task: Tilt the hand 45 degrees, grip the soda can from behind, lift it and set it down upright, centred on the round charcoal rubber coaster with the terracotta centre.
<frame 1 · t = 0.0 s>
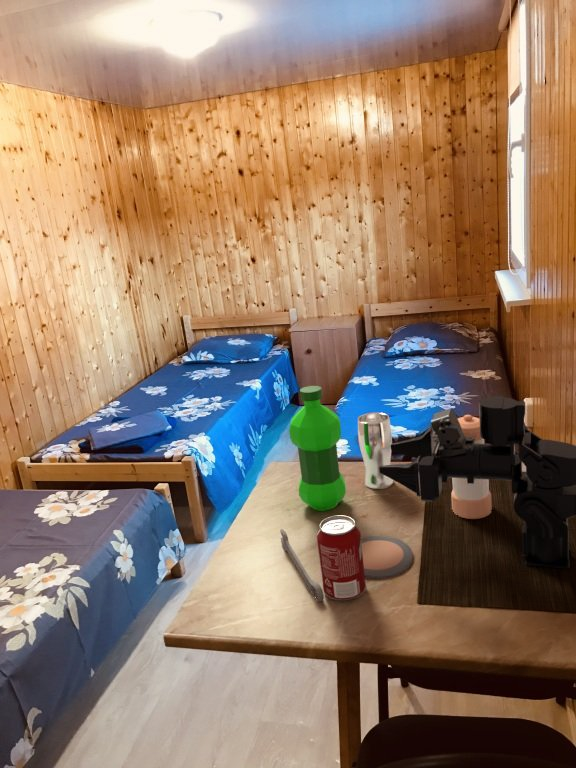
hand: (385, 457, 105), 17 cm above the table, tool horizontal, fingers open, 9 cm apart
pepper shaker: (471, 510, 118), on the table
plastic bottle: (324, 505, 127), on the table
beer glass: (379, 483, 133), on the table
soda can: (344, 591, 99), on the table
coaster: (377, 557, 106), on the table
combination wrench: (301, 572, 106), on the table
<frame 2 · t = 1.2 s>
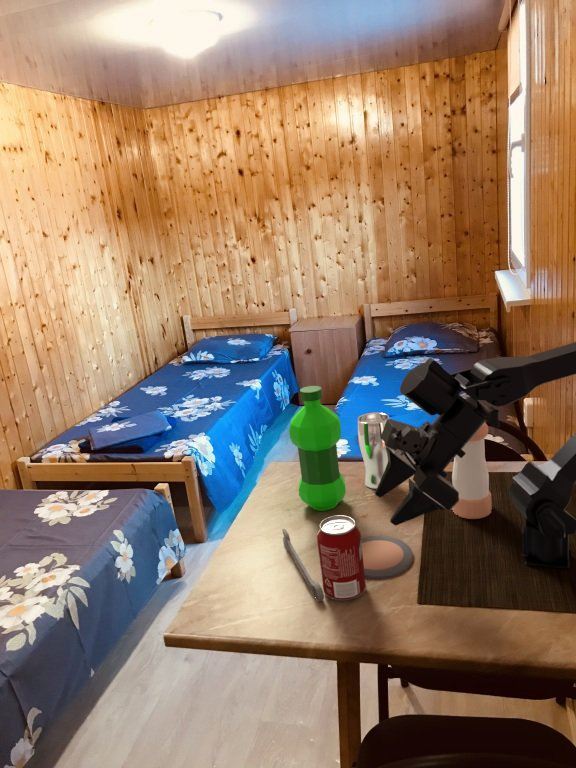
hand: (384, 509, 95), 13 cm above the table, tool tilted 45°, fingers open, 9 cm apart
nothing on the table moved.
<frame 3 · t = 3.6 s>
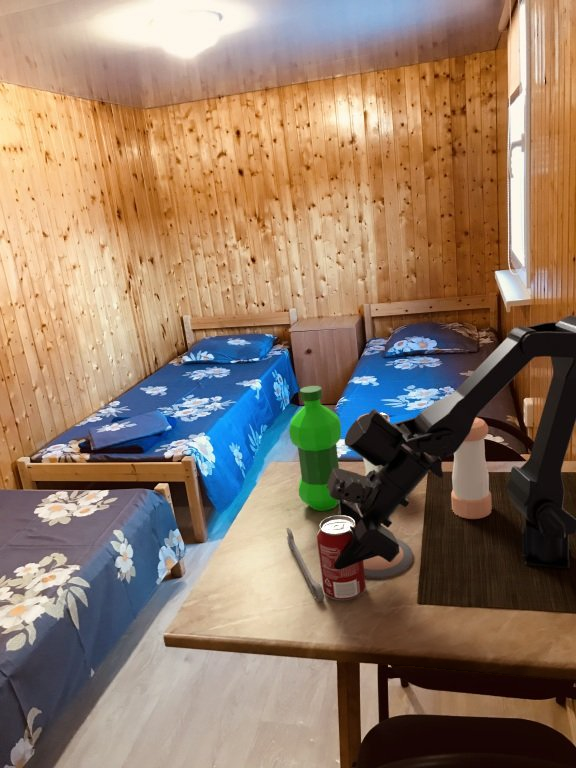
hand: (331, 555, 97), 7 cm above the table, tool tilted 45°, fingers closed on soda can, 6 cm apart
soda can: (344, 591, 99), on the table, touching gripper
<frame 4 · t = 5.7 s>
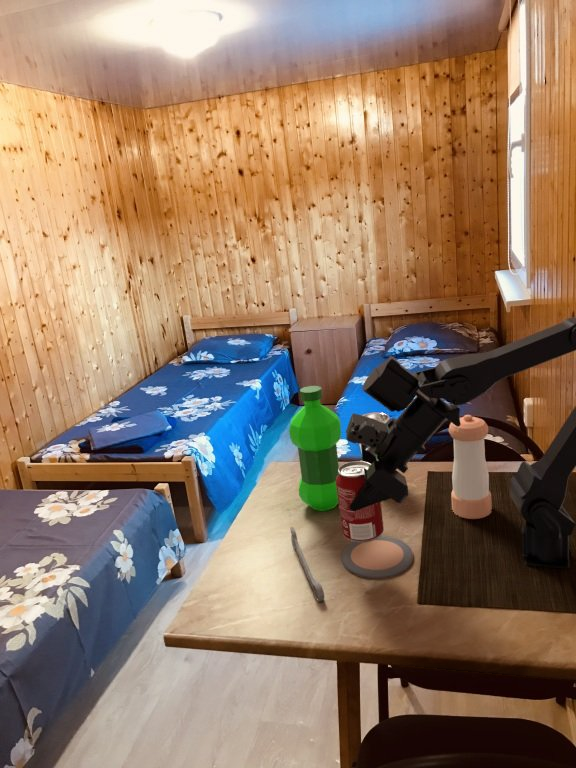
hand: (350, 499, 100), 13 cm above the table, tool tilted 45°, fingers closed on soda can, 6 cm apart
soda can: (363, 535, 102), point 6 cm above the table, touching gripper
when the fingers open (8 cm above the table, at t = 8.1 s): soda can moves 1 cm, resting on coaster.
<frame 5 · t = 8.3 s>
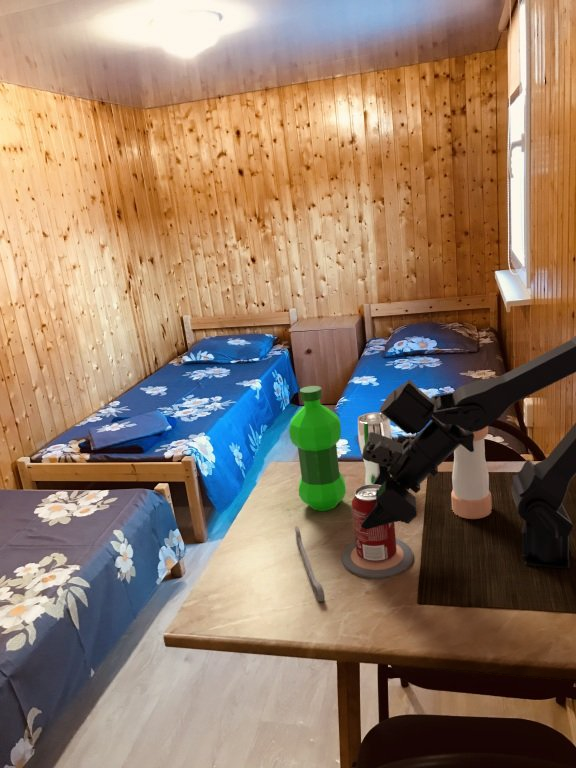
hand: (364, 513, 104), 9 cm above the table, tool tilted 45°, fingers open, 9 cm apart
soda can: (377, 556, 106), resting on coaster
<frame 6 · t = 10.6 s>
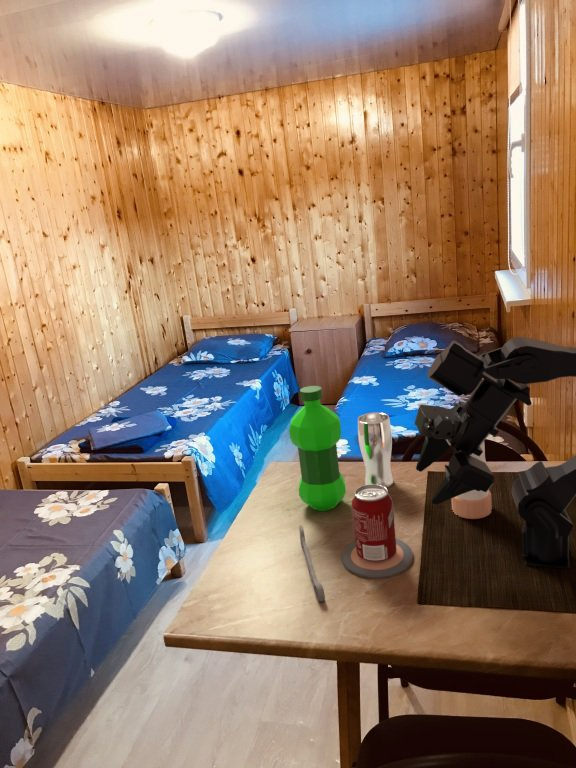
hand: (425, 486, 101), 13 cm above the table, tool tilted 35°, fingers open, 9 cm apart
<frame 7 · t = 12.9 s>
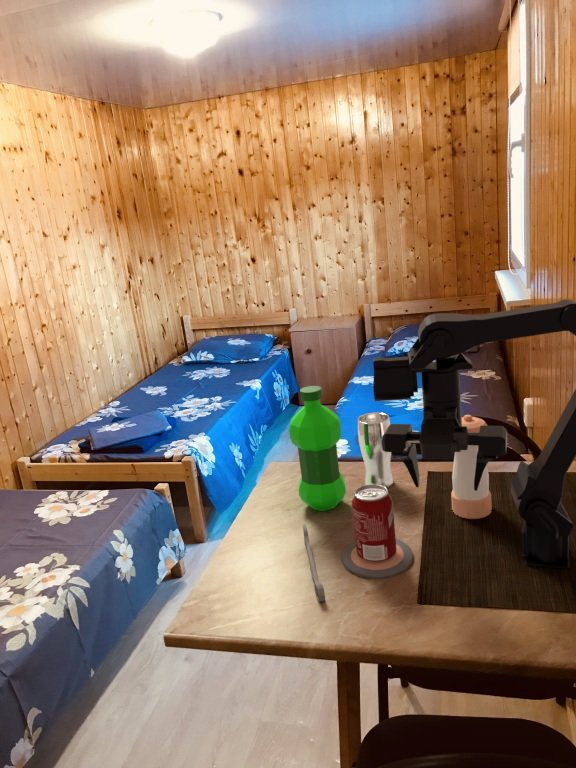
hand: (446, 487, 100), 13 cm above the table, tool pointing down, fingers open, 9 cm apart
at the end: soda can 0.2 cm from the coaster (horizontally); soda can tilted 0°; soda can touching coaster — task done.
